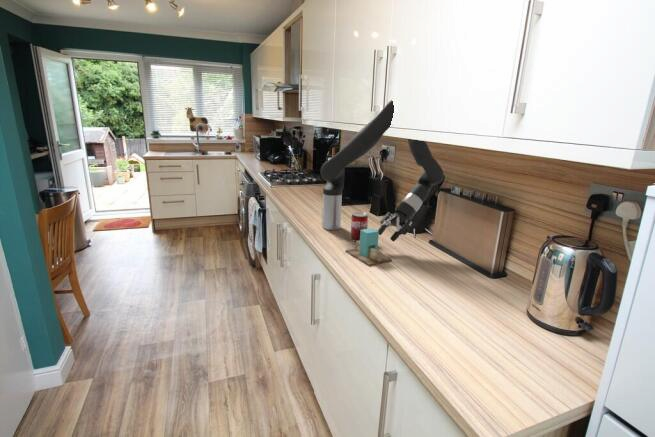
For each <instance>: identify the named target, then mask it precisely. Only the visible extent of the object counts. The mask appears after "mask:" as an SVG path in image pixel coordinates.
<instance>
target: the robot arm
mask: <svg viewBox="0 0 655 437" xmlns="http://www.w3.org/2000/svg"><path fill="white" fill-rule="evenodd" d="M390 100H391V99H390ZM390 100H389V101H388V102H387V103H386V105H385V106H384V107H383V108H382V109H381V111H380V112H379V113H378V114H377V115H376V116H375V117H374V118H373V119H372V120H370V122H368V123H367V124H366V125H364V126H363V128H362V129H360V130H359V131H358V132H357V133H356V134H355V135H354V136H353V137H352V138H351V139H350V140H349V141H348V142H347V143H346V144H345V145H344V146H343V147H342V148H341V149H340V150H339V151H338V152H337V153H336V154H335V155H333V156H332V157H331V158H330V159H328V160H326V161H325V162H324V163H323V164H322V166H321V167H320V176H321V178H322V179H323V180H324V181H326V184H325V186H323V189H322V208H321V227H322V228H323V229H324V230H329V231H337V230H340V229H341V226H342V225H341V224H342V202H343V200H342V199H343V198H342V197H343V196H342V195H343V190H344V187H345V174H346V173H345V172H346V171H345V169H346V167H347V166H349V165H350V164H351V163H353V162H355V161H356V160H358V159H360V158H362V156H364V155H366V154H367V153H368V152H369V151H370V150H372V149H373V148H374V147H375V146H376V145H377V144H378V142H379V141H380V139H381V138H382V136H383V135H385V133H386V131H387V130H389V129H390V128H391V127H390V125H391V121H392V118H393V113H394V105H393V101H392V100H391V101H390ZM389 127H390V128H389ZM407 143H408V146H409V150H410V152H411V154H412V157H413V158H414V160H415V161H414V162H415V164H417V166H419V167H422V169H423V170H424V171H423V172H422V173H421V174H420V176H419V177H418V179H417V181H416V183H415V185H414V186H413V188H411V190H410V191H409V192H408V194H407V195H405V196H404V198H402V200H401V201H400V202H399V204H398V205H396V207H395V208H394V209H395V211H394V213H392V212H390V211H388V212H387V213H386V214H385V215H384V216H383V218H382V219H381V220H380V221H379V223H380V224H381V225H380V227H379V228H378V230H377V231H379V236H382V234H384V232H385V231H386V229H388V228H389V227H390V228H392V227H396V230H395V231H394V232H393V234H392V235H391V236H390V237H389V239H390V240H391V241H392V242H395V241H396V240H397V239H398V238H399V236H402V235H404V236H405V235H406V234H407V233H408V232H409V230H410V229H411V228H412V227H413V224H414V223H413V222H412V218H414V216H415V215H416V213H417V212H418V211H419V210H420V208H421V207H422V205H423V203H424V202H425V201H426V199H428V196H429V195H430V190H431V188H432V187H434V186H435V185H439V184H441V183H442V182H443V181H444V179H445V174H444V170H443V168H442V167H441V165H440V164H439V162H438V161H437V160H436V159H435V157H434V156H433V155H432V154H433V153H432V152H431V150H430V148H429V145H428V143H427V141H426V142H424V141H418V140H411V139H407Z"/></svg>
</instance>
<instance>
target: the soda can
mask: <svg viewBox="0 0 655 437" xmlns="http://www.w3.org/2000/svg"><path fill="white" fill-rule="evenodd" d="M368 222H369V215H368V214H367V213H366V212H360V211H359V212H357V211H356V212H353V213H352V214H351V222H350V223H351V224H350V225H351V226H350V227H351V228H350V239H351V241H352V242H356V241H360V230H363V229H368V224H369V223H368Z"/></svg>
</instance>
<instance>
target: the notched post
mask: <svg viewBox="0 0 655 437" xmlns="http://www.w3.org/2000/svg"><path fill="white" fill-rule="evenodd" d="M379 236H380V235H379V231H378V230H377V229H376V228H375V229H374V228H373V227H371V228H367V229H363V230H360V248H359V254H361V255H362V256H364V257H368V253H369V246H371V247H372V248H374V249H376V250H378V248H379V246H378V245H379ZM378 251H379V250H378Z"/></svg>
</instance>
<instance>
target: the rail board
mask: <svg viewBox="0 0 655 437" xmlns="http://www.w3.org/2000/svg"><path fill="white" fill-rule="evenodd" d="M359 248H360V241H356V244H355V247H354V248H349V249H345V253H347V254H348V255H350V256H352V257H353V258H354V259H356V260H358V261H359V262H361V263H363V264H364V265H365V266H368V267H372V266H375V265H376V266H377V265H380V264H384V263H389V262H392V258H391V257H389V256H387V255H386V254H383V253H382V251H380V250H376V249H374V248H372V247H371V246H369V253H368V257H364V256H362V255H361V254H359Z"/></svg>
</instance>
